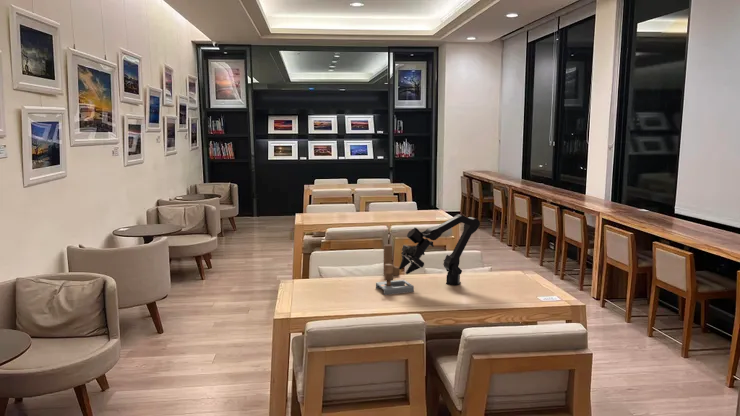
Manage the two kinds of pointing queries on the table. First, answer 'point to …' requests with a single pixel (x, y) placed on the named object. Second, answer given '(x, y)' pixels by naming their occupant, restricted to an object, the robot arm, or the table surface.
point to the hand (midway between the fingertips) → (402, 271)
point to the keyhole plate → (393, 288)
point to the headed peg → (388, 273)
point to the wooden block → (390, 259)
